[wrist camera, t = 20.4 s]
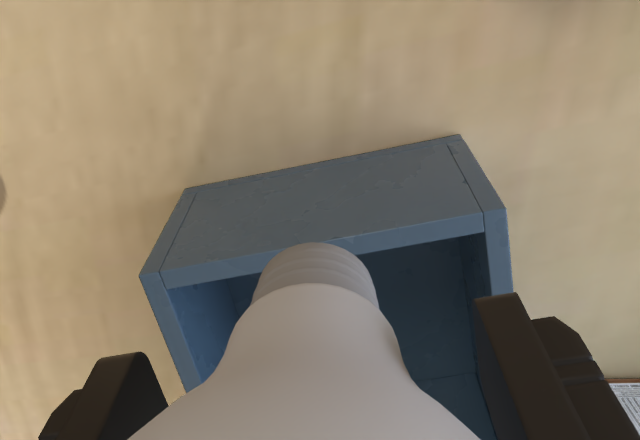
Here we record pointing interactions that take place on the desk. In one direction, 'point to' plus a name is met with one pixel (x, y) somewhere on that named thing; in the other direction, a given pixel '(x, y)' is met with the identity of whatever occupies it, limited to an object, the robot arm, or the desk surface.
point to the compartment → (359, 239)
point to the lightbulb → (309, 365)
